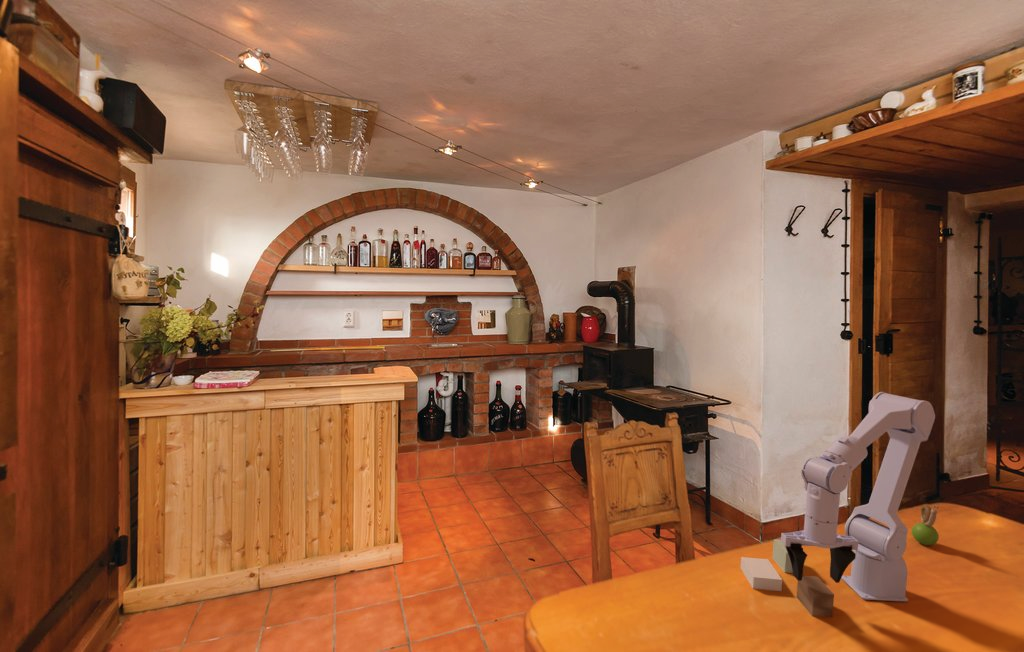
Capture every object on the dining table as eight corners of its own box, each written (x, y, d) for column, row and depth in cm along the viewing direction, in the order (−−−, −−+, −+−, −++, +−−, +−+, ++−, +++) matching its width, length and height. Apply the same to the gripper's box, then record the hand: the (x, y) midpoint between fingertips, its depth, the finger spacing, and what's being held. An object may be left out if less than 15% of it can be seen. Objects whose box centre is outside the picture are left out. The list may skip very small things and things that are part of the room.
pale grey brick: (766, 571, 115) (767, 559, 114) (781, 592, 107) (782, 579, 106) (740, 568, 115) (741, 557, 115) (752, 589, 107) (753, 577, 107)
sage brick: (788, 559, 119) (790, 540, 119) (802, 573, 113) (803, 553, 113) (772, 558, 120) (773, 539, 119) (784, 573, 114) (786, 552, 113)
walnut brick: (815, 598, 104) (817, 576, 104) (832, 617, 99) (834, 594, 98) (796, 597, 105) (798, 575, 104) (812, 616, 99) (814, 593, 98)
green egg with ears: (918, 549, 125) (923, 504, 124) (906, 536, 131) (911, 494, 130) (944, 553, 123) (949, 508, 122) (930, 540, 129) (935, 497, 128)
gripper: (845, 509, 103) (839, 569, 105) (775, 506, 104) (771, 565, 105) (867, 525, 96) (861, 589, 98) (793, 522, 97) (787, 585, 98)
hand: (815, 578), depth 101 cm, fingers open, 7 cm apart
